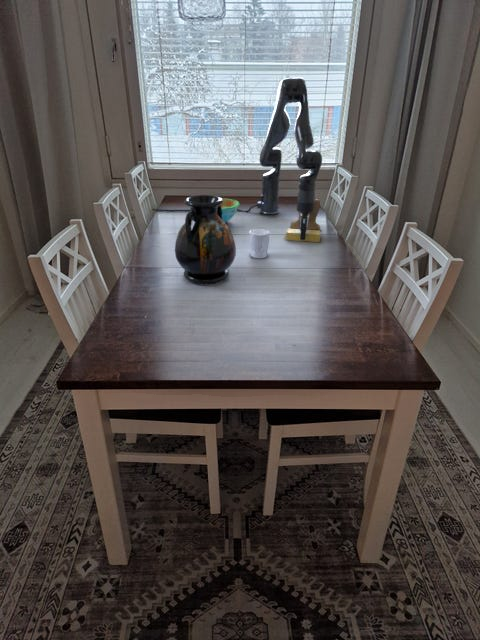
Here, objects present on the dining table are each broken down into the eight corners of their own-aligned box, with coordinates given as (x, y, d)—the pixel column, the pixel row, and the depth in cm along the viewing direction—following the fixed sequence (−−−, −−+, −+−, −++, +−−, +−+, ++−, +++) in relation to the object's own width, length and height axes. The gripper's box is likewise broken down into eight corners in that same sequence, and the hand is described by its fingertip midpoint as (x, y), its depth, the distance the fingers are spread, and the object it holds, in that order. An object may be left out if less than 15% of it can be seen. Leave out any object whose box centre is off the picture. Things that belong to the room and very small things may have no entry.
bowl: (187, 226, 204) (186, 205, 199) (207, 214, 222) (206, 196, 217) (228, 231, 197) (228, 210, 192) (245, 219, 215) (246, 200, 210)
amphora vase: (213, 294, 137) (211, 210, 123) (164, 280, 147) (157, 201, 133) (247, 273, 153) (248, 196, 139) (200, 261, 163) (197, 189, 149)
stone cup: (316, 225, 207) (319, 194, 199) (321, 232, 196) (325, 200, 189) (287, 225, 206) (288, 194, 199) (290, 232, 196) (292, 200, 189)
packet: (285, 240, 186) (286, 232, 184) (286, 235, 191) (287, 228, 190) (319, 242, 184) (320, 234, 182) (319, 237, 189) (320, 230, 187)
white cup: (270, 253, 171) (271, 230, 166) (265, 260, 164) (266, 235, 159) (252, 251, 173) (253, 228, 168) (246, 257, 167) (247, 233, 162)
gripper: (298, 196, 186) (295, 232, 194) (296, 203, 173) (293, 241, 182) (314, 196, 185) (311, 233, 193) (314, 204, 172) (310, 242, 181)
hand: (302, 237), depth 187 cm, fingers closed on packet, 6 cm apart
